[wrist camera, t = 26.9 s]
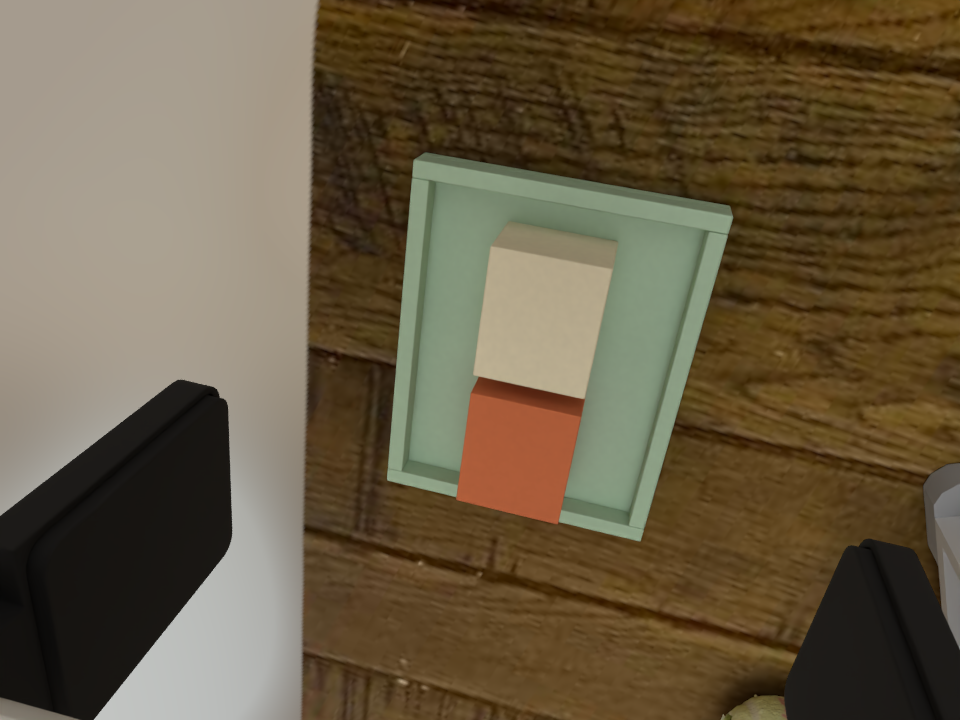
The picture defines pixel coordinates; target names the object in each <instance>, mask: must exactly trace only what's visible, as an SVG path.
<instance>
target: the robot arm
mask: <svg viewBox="0 0 960 720" xmlns="http://www.w3.org/2000/svg"><path fill="white" fill-rule="evenodd" d="M228 424H229V422H228V405H227V402H226V400H224V399H222V398H220V397H219V393H218V391H217V389H215V388H214V387H211V386H207V385H202V384H198V383H194V382H189V381H185V380H177V381H175V382H173V383H172V384H171V385H169V386H168V387H167V388H165V389H164V390H163V391H162V392H160V393H159V394H158V395H156V396H155V397H154V398H152V399H151V400H150V401H149V402H147V403H146V404H145V405H143V406H142V407H141V408H140V409H138V410H137V411H136V412H134V413H133V414H132V415H130V416H129V417H128V418H126V419H125V420H124V421H123V422H121V423H120V424H119V425H117V426H116V427H115V428H114V429H112V430H111V431H110V432H108V433H107V434H106V435H104V436H103V437H102V438H101V439H99V440H98V441H97V442H95V443H94V444H93V445H92V446H90V447H89V448H88V449H86V450H85V451H84V452H82V453H81V454H80V455H79V456H77V457H76V458H75V459H73V460H72V461H71V462H70V463H68V464H67V465H66V466H64V467H63V468H62V469H60V470H59V471H58V472H57V473H55V474H54V475H53V476H51V477H50V478H49V479H48V480H46V481H45V482H44V483H42V484H41V485H40V486H38V487H37V488H36V489H35V490H33V491H32V492H31V493H29V494H28V495H27V496H25V497H24V498H23V499H22V500H20V501H19V502H18V503H16V504H15V505H14V506H13V507H11V508H10V509H9V510H7V511H6V512H5V513H3V514H2V515H1V516H0V720H94V719H95V717H96V716H97V715H98V714H99V712H100V711H101V710H102V709H103V707H104V706H105V705H106V704H107V702H108V701H109V700H110V699H111V697H112V696H113V695H114V693H115V692H116V691H117V690H118V689H119V687H120V686H121V685H122V684H123V682H124V681H125V680H126V679H127V677H128V676H129V675H130V673H131V672H132V671H133V670H134V668H135V667H136V666H137V665H138V663H139V662H140V661H141V660H142V658H143V657H144V656H145V655H146V653H147V652H148V651H149V650H150V648H151V647H152V646H153V645H154V643H155V642H156V641H157V640H158V638H159V637H160V636H161V635H162V633H163V632H164V631H165V630H166V628H167V627H168V626H169V625H170V623H171V622H172V621H173V620H174V618H175V617H176V616H177V614H178V613H179V612H180V611H181V609H182V608H183V607H184V606H185V604H186V603H187V602H188V601H189V599H190V598H191V597H192V595H193V594H194V593H195V592H196V590H197V589H198V588H199V587H200V585H201V584H202V583H203V582H204V581H205V579H206V578H207V577H208V576H209V574H210V573H211V572H212V571H213V569H214V568H215V567H216V565H217V564H218V563H219V562H220V560H221V559H222V558H223V557H224V555H225V554H226V552H227V550H228V548H229V545H230V542H231V538H232V511H231V481H230V455H229V426H228ZM784 702H785V710H786V716H787V720H960V648H959V646H958V644H957V642H956V640H955V638H954V635H953V633H952V631H951V629H950V627H949V624H948V622H947V620H946V618H945V616H944V614H943V611H942V609H941V607H940V605H939V603H938V600H937V598H936V596H935V594H934V592H933V589H932V587H931V585H930V583H929V581H928V579H927V576H926V574H925V572H924V570H923V568H922V565H921V563H920V561H919V559H918V557H917V555H916V553H915V552H914V550H912V549H910V548H907V547H903V546H898V545H894V544H890V543H885V542H881V541H877V540H872V539H865V540H864V541H863V542H862V543H861V544H860V546H859V547H856V546H852V545H851V546H848V547H847V548H846V549H845V551H844V553H843V555H842V557H841V559H840V561H839V564H838V566H837V568H836V570H835V573H834V575H833V577H832V579H831V582H830V584H829V586H828V588H827V590H826V593H825V595H824V597H823V599H822V602H821V604H820V606H819V608H818V610H817V613H816V615H815V617H814V619H813V622H812V624H811V626H810V628H809V630H808V633H807V635H806V637H805V639H804V642H803V644H802V646H801V648H800V651H799V653H798V655H797V657H796V659H795V662H794V664H793V666H792V668H791V671H790V673H789V675H788V678H787V681H786V685H785V692H784Z"/></svg>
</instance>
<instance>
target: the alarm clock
mask: <svg viewBox="0 0 960 720" xmlns="http://www.w3.org/2000/svg"><path fill="white" fill-rule="evenodd" d="M923 490H924V502H925V514H926V527H927V539H928V546H929V548H930V550H931V552H932V554H933V556H934V558H935V560H936V562H937V564H938V567H939V580H940V593H941V605H942V611H943V614H944V616H945V618H946V620H947V622H948V624H949V627H950V629H951V631H952V633H953V635H954V638H955V640H956V642H957V644H958V646H959V648H960V463H956V464H947V465H946V466H944V467H942V468H940V469H939V470H937V471H935V472H933V473H932V474H931V475H930V476H929V478H928V479H927V481H926V482H925V484H924V485H923Z"/></svg>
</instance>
